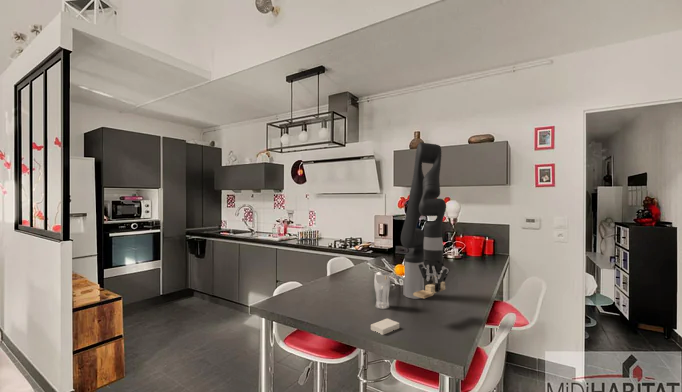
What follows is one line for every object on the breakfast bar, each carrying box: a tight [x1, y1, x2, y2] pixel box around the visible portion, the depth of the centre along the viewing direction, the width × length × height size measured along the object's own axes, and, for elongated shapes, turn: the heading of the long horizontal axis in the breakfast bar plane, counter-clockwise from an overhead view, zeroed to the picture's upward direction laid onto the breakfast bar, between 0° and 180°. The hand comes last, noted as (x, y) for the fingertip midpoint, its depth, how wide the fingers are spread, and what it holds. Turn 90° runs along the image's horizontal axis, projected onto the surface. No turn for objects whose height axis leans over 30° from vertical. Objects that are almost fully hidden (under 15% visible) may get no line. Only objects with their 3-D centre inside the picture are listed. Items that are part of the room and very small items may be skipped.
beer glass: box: [373, 271, 391, 310], centre depth 139 cm, size 7×7×15 cm
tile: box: [370, 318, 400, 336], centre depth 115 cm, size 6×2×9 cm
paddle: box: [413, 281, 446, 300], centre depth 123 cm, size 16×5×3 cm, turn 129°
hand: (434, 290), depth 125 cm, fingers closed on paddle, 2 cm apart
